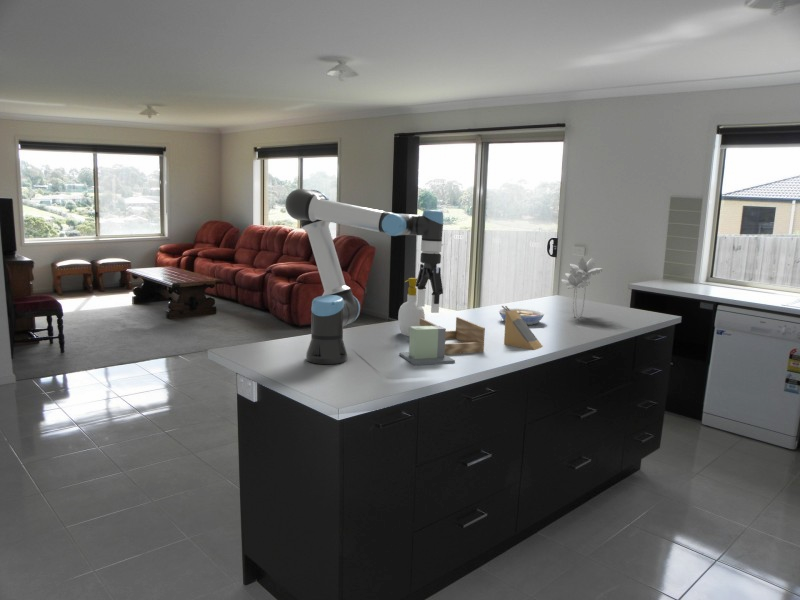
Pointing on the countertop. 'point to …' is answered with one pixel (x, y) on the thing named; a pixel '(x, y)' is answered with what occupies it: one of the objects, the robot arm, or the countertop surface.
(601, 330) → the countertop surface
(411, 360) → the slate mat
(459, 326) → the wooden display shelf
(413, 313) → the soap bottle
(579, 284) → the flower bouquet
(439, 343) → the capped box
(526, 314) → the ramen bowl
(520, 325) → the sandwich container
